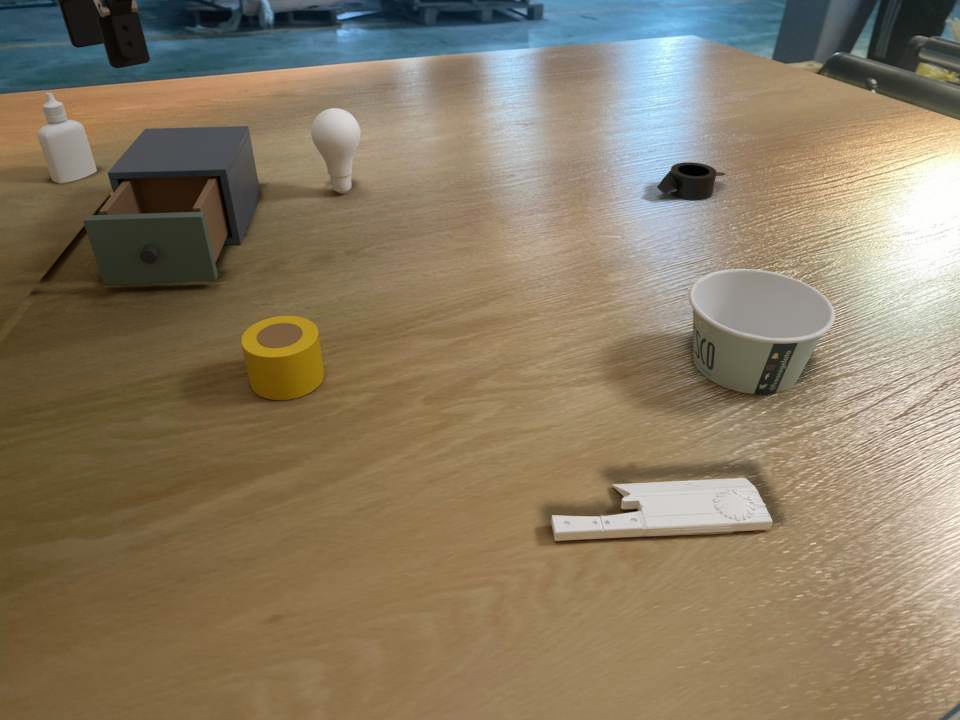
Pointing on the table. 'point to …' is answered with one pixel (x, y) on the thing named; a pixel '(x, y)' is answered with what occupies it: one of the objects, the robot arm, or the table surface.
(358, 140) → the lightbulb
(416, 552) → the table surface
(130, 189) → the drawer
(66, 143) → the eye dropper bottle
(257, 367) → the tape roll
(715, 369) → the food container
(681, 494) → the butcher knife
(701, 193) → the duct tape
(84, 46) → the robot arm
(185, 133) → the cabinet
